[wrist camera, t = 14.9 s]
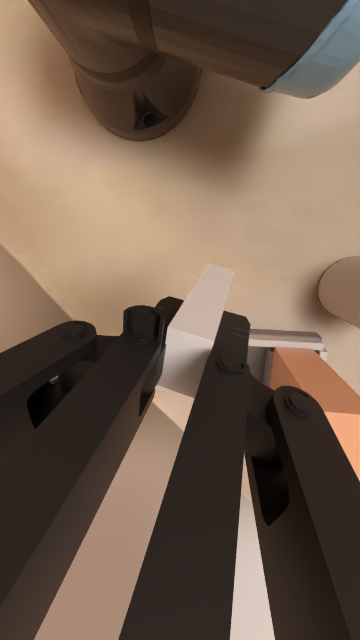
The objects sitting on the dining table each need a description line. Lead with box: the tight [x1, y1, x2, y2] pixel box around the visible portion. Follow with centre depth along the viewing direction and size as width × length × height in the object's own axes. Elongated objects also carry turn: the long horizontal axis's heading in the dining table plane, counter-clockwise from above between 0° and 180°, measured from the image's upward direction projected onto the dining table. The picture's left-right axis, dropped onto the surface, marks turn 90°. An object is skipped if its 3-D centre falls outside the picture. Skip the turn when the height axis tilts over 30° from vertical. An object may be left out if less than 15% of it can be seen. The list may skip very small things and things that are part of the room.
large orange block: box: [262, 347, 360, 480], centre depth 29 cm, size 6×8×16 cm
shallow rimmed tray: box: [155, 329, 328, 392], centre depth 37 cm, size 25×10×4 cm, turn 89°
